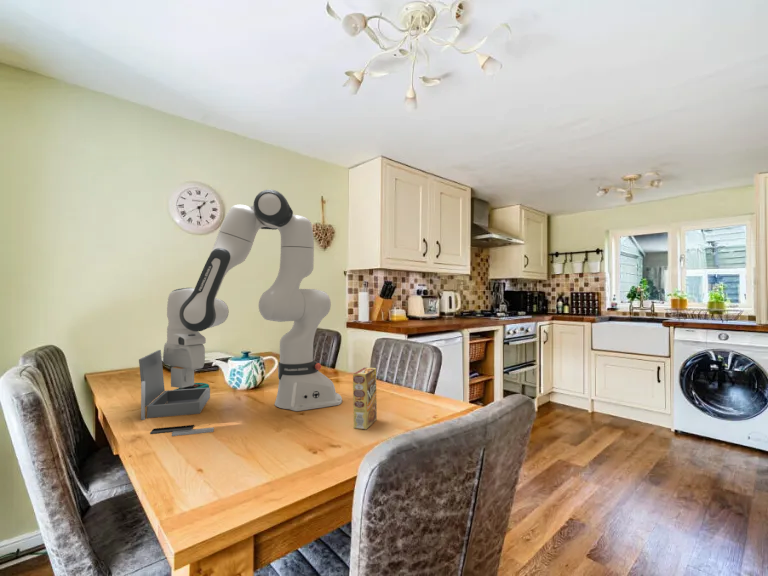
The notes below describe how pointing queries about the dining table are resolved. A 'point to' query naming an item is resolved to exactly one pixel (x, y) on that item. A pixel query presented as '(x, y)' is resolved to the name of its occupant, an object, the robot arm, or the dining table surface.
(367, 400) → the candy box
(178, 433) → the rod
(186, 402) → the case
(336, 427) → the dining table surface
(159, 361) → the lid
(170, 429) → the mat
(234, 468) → the dining table surface
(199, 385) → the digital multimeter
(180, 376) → the block
